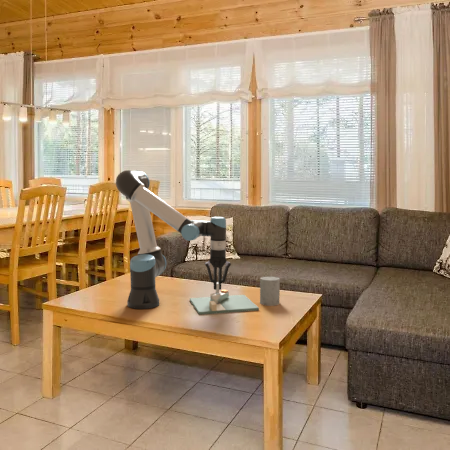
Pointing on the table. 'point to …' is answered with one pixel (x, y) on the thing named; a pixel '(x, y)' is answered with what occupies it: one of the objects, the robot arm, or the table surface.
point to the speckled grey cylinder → (269, 290)
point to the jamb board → (223, 305)
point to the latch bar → (219, 296)
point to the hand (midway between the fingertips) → (217, 295)
